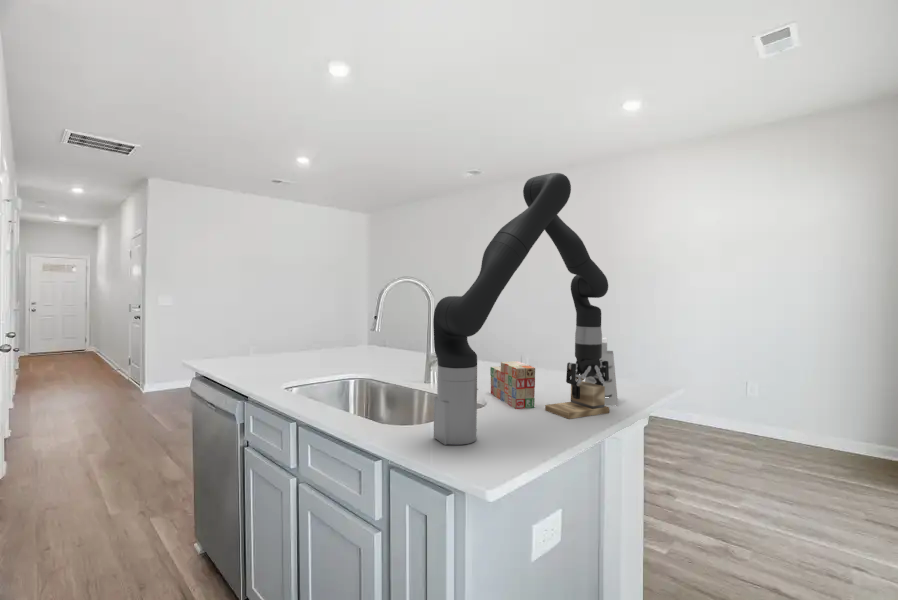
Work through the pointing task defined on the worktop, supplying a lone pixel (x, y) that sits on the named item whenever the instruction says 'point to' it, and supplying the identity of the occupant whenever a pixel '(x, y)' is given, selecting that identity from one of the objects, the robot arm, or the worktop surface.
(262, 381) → the worktop surface
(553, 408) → the board
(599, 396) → the block
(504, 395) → the stack of blocks
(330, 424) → the worktop surface
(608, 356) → the grater
